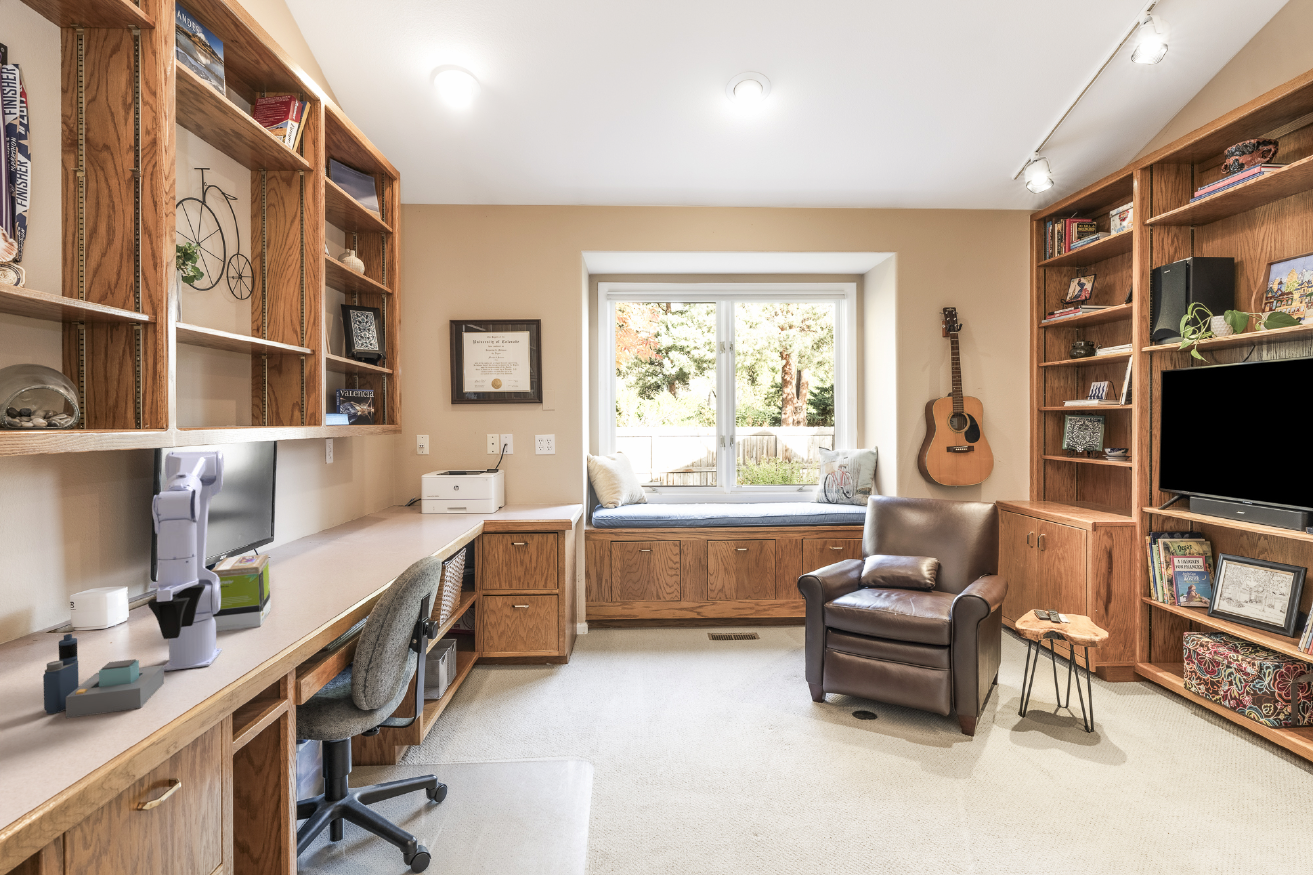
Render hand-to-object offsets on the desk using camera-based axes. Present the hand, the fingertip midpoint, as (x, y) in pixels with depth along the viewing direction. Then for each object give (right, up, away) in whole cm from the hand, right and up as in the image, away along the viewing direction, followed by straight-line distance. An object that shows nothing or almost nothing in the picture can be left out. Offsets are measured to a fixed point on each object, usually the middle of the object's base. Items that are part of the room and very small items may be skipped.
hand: (178, 632), depth 116 cm
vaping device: (-14, -11, -7) cm, 19 cm away
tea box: (-14, -10, +40) cm, 44 cm away
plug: (-7, -10, -4) cm, 13 cm away
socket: (-7, -11, -4) cm, 14 cm away
